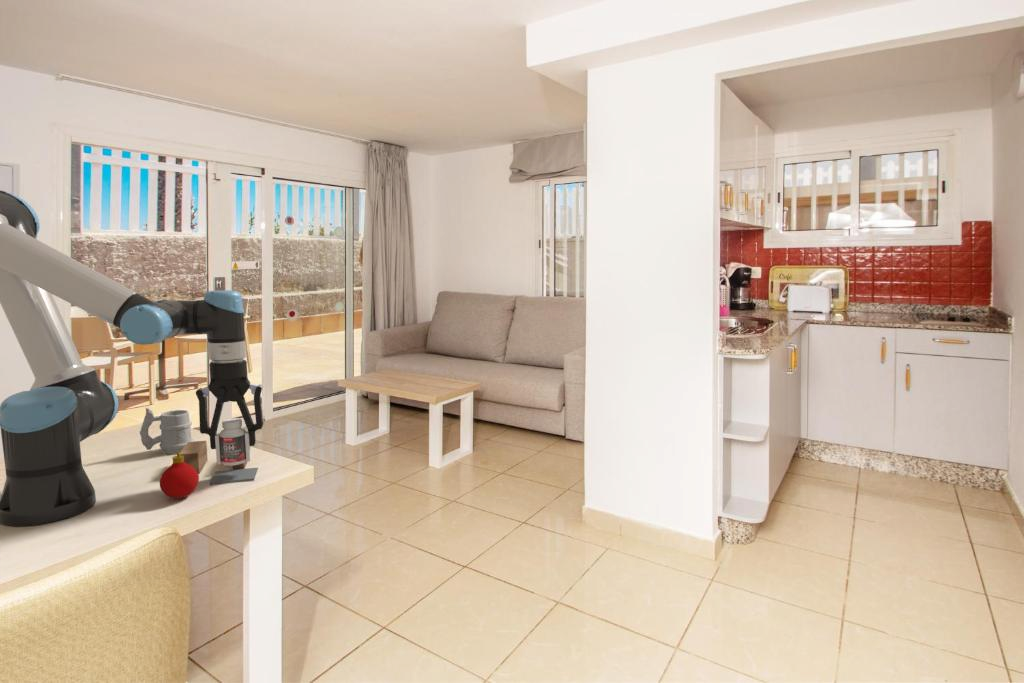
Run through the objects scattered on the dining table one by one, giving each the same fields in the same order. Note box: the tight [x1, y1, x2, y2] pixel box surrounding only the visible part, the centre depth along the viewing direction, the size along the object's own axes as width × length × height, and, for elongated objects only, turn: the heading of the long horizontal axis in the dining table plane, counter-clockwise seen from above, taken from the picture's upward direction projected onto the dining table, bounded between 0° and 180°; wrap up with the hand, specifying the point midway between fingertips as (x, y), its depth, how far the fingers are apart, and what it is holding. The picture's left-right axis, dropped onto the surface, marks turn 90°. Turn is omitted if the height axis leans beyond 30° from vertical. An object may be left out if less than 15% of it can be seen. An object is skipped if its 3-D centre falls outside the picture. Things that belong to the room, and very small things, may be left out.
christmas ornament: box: [159, 451, 200, 499], centre depth 123 cm, size 7×7×10 cm
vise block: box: [179, 440, 248, 475], centre depth 142 cm, size 14×10×5 cm
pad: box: [209, 467, 259, 485], centre depth 135 cm, size 9×8×1 cm
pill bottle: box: [219, 417, 247, 466], centre depth 134 cm, size 5×5×10 cm
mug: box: [139, 407, 195, 455], centre depth 152 cm, size 8×12×12 cm, turn 125°
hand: (234, 460), depth 135 cm, fingers closed on pill bottle, 5 cm apart
